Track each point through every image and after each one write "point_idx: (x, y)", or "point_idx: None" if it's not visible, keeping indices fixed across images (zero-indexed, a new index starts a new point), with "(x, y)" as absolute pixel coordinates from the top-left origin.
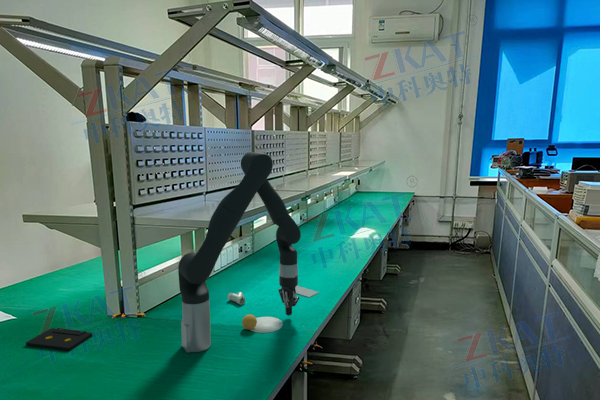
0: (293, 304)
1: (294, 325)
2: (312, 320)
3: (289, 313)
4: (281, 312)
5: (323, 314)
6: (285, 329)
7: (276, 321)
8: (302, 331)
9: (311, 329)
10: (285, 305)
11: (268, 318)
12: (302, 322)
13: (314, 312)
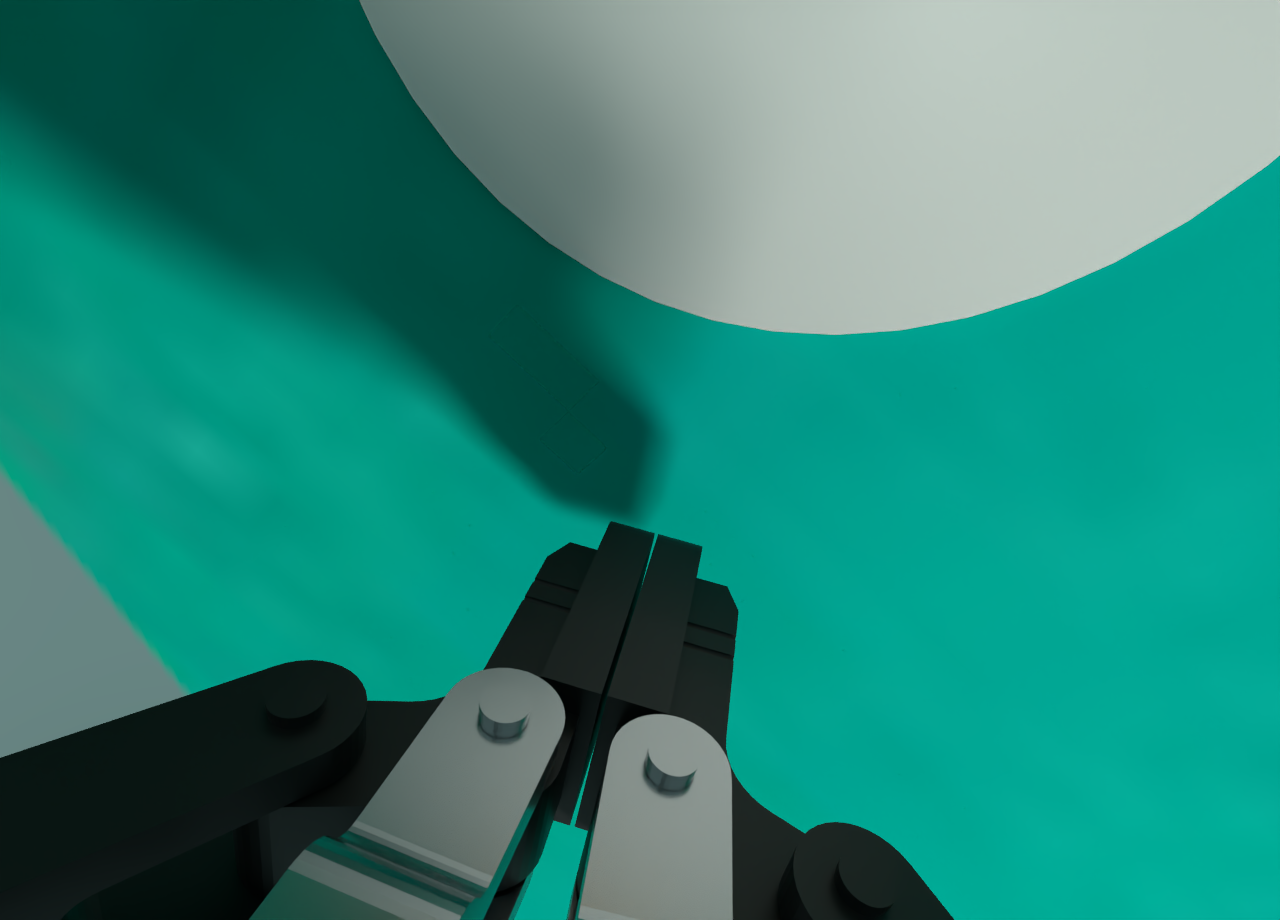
0: (236, 838)
1: (308, 356)
2: None
3: (543, 572)
4: (1015, 652)
5: None
6: (239, 39)
7: (725, 181)
8: (6, 265)
9: (24, 442)
10: (646, 729)
11: (1079, 148)
12: (335, 551)
13: (522, 904)
